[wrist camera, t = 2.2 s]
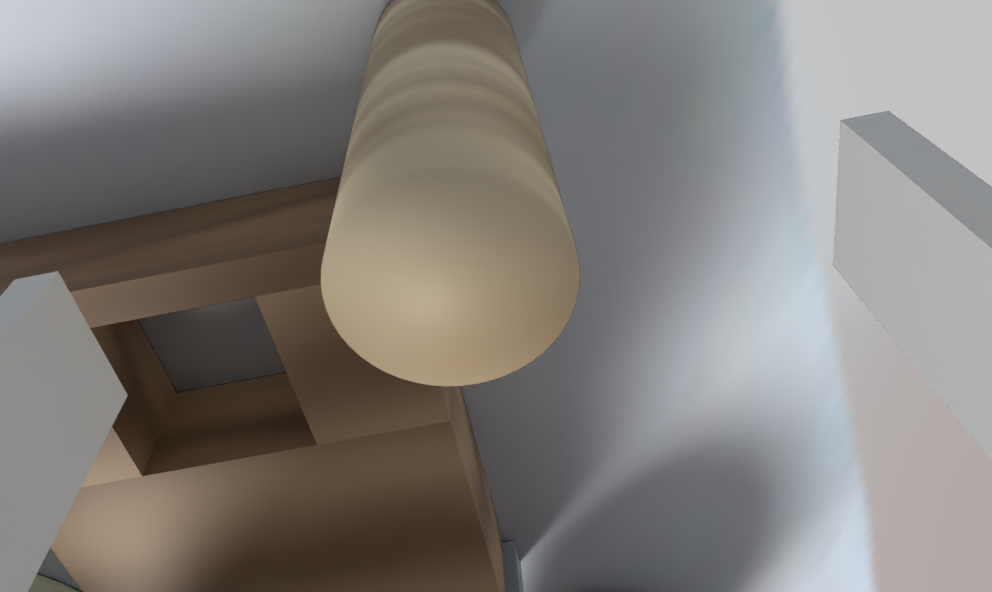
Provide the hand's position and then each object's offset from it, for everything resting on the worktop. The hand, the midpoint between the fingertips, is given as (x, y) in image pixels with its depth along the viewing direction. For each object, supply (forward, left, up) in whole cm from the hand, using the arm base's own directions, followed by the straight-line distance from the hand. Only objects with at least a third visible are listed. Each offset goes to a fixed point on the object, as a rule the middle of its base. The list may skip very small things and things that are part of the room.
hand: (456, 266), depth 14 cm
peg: (0, 0, -11) cm, 11 cm away
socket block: (+12, -9, -11) cm, 18 cm away
